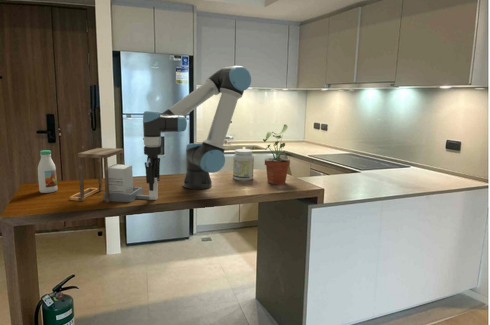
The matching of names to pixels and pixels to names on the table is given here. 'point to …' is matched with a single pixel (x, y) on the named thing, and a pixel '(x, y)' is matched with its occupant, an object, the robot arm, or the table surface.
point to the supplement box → (120, 179)
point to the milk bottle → (47, 173)
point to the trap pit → (86, 193)
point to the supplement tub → (243, 164)
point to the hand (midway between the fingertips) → (153, 195)
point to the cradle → (131, 195)
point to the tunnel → (98, 154)
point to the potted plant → (277, 162)
